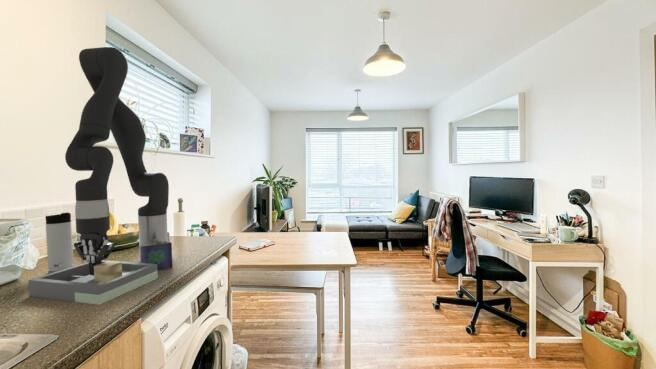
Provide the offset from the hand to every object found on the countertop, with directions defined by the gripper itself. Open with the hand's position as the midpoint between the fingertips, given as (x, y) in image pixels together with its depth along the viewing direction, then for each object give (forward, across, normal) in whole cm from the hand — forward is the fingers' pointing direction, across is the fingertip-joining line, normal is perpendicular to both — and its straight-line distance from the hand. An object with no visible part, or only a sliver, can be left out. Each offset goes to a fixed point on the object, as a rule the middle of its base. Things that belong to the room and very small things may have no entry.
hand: (95, 274), depth 82 cm
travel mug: (+4, +25, -8) cm, 27 cm away
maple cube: (+1, -5, 0) cm, 5 cm away
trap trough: (+4, -1, 0) cm, 4 cm away
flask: (+4, -5, -16) cm, 17 cm away
